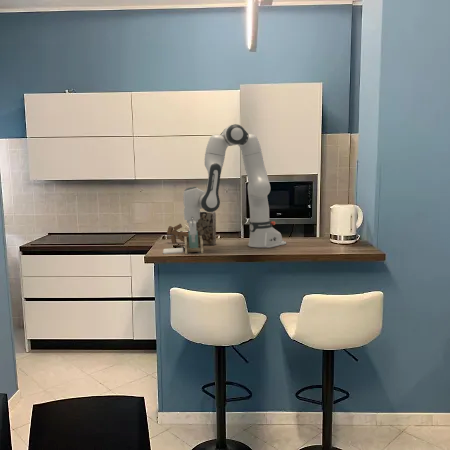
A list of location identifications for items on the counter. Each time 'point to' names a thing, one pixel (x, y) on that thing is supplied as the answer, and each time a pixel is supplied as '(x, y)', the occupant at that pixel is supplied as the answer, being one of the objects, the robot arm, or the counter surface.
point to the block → (193, 244)
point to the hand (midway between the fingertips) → (193, 240)
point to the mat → (173, 250)
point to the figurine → (176, 233)
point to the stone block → (207, 227)
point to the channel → (199, 249)
